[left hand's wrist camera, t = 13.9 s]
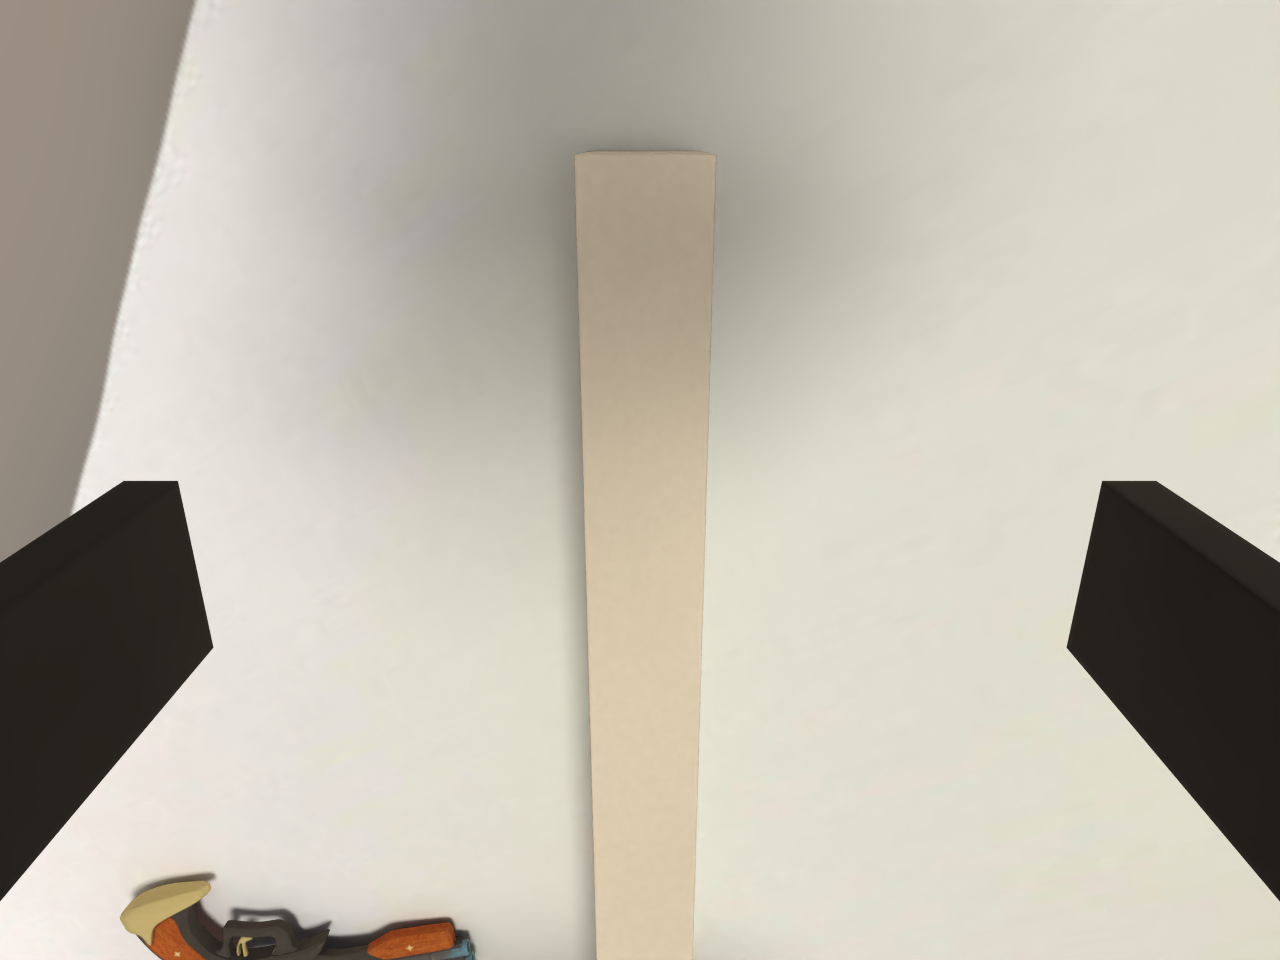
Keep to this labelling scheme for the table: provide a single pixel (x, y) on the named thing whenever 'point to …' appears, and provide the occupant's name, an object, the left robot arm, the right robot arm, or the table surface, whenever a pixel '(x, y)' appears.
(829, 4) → the table surface
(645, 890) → the beam
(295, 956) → the toy gun
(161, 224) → the table surface
